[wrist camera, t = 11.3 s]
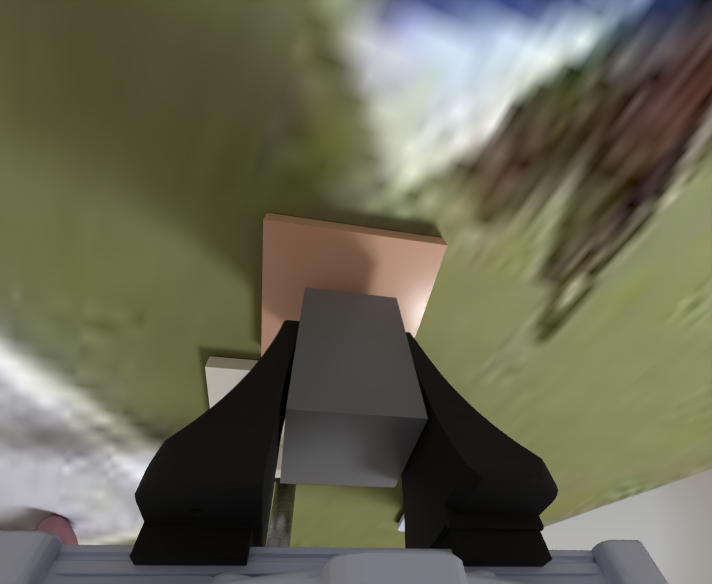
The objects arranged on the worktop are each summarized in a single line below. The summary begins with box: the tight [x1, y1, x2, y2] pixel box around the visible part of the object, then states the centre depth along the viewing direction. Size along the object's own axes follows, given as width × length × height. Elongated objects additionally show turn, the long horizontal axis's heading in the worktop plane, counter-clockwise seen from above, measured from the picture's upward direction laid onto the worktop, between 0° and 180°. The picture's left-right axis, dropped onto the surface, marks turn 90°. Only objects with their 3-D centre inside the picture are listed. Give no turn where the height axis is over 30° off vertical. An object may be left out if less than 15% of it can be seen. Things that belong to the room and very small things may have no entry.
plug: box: [280, 287, 428, 488], centre depth 13 cm, size 4×4×6 cm
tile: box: [261, 213, 447, 357], centre depth 16 cm, size 8×8×1 cm
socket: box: [205, 356, 296, 547], centre depth 20 cm, size 10×14×7 cm
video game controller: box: [36, 515, 78, 545], centre depth 28 cm, size 10×5×7 cm, turn 121°
